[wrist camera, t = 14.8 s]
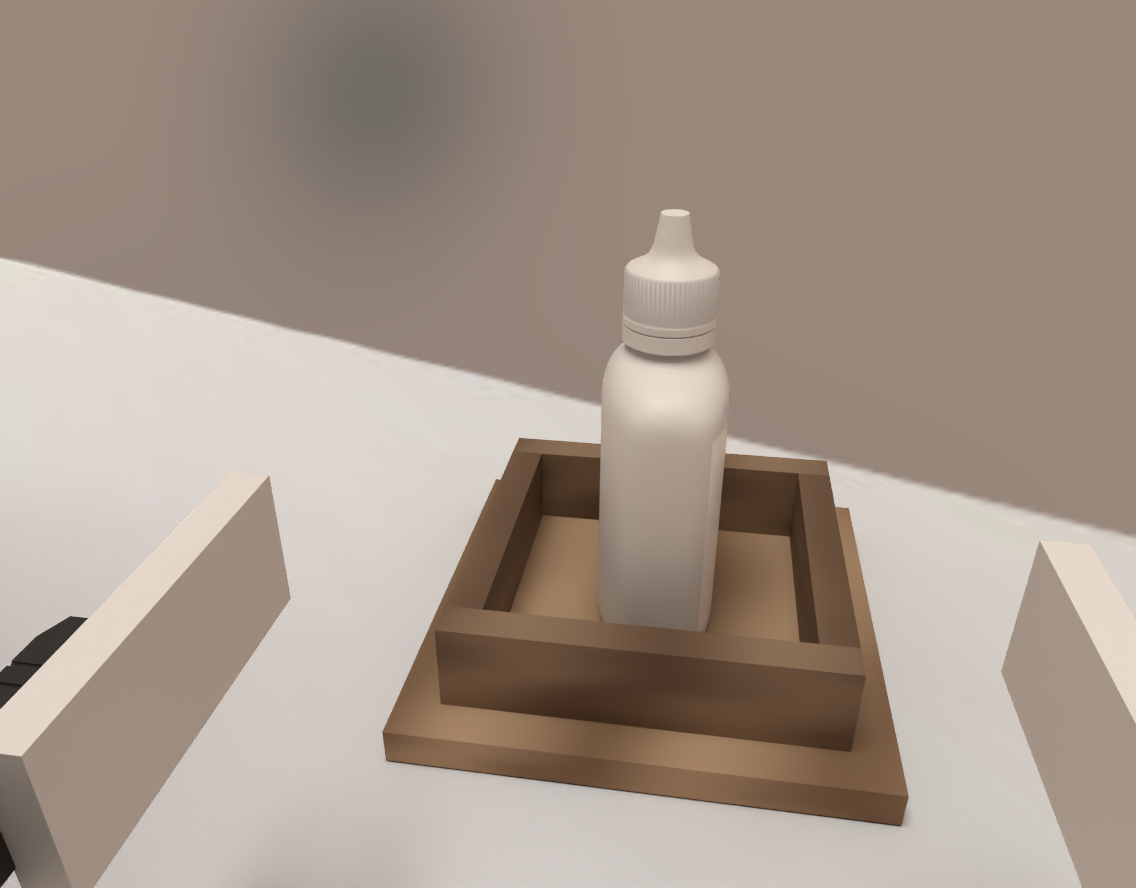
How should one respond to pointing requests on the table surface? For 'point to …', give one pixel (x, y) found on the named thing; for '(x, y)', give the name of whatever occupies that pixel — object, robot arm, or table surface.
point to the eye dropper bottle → (663, 440)
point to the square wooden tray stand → (660, 653)
